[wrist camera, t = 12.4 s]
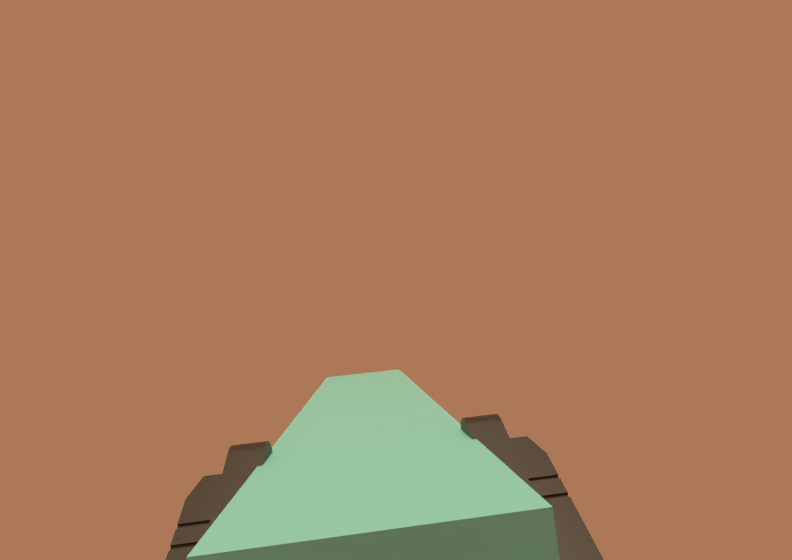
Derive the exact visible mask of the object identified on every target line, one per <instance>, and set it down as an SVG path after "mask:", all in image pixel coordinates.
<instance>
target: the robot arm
mask: <svg viewBox="0 0 792 560" xmlns="http://www.w3.org/2000/svg"><path fill="white" fill-rule="evenodd" d="M461 429H462V430H463V431H464V432H465V433H466V434H467V435H468V436H469V437H470V438H471V439H477V440H478V441H480V442H481V443H482V444H483V445H484V446H485V447H486V448H487V449H488V450H490V451H491V452H492V453H493V454H494V455H495V456H496V457H497V458H499V459H500V460H501V461H502V462H503V463H504V464H505V465H506V466H508V467H509V468H510V469H511V470H512V471H513V472H514V473H515V474H517V475H518V476H519V477H520V478H521V479H522V480H523V481H524V482H525V483H527V484H528V485H529V486H530V487H531V488H532V489H533V490H534V491H536V492H537V493H538V494H539V495H540V496H541V497H542V498H543V499H545V500H546V501H547V502H548V503H549V504H550V505H551V506H552V507H553V512H554V520H555V528H556V535H557V543H558V550H559V558H560V560H603V558H602V556H601V554H600V552H599V550H598V548H597V547H596V545H595V543H594V541H593V539H592V537H591V535H590V533H589V532H588V530H587V528H586V526H585V524H584V522H583V520H582V518H581V517H580V515H579V513H578V511H577V509H576V508H575V505H574V503H573V502H572V500H571V498H570V497H568V493H567V490H566V489H565V487H564V485H563V483H562V481H561V479H559V478H558V474H557V472H556V470H555V468H554V466H553V464H552V462H551V461H550V459H549V457H548V455H547V454H546V452H545V451H543V450H542V449H541V448H540V447H539V446H537V445H536V444H535V443H534V442H533V441H532V440H531V439H529V438H528V437H518V438H509V436H508V434H507V432H506V429H505V427H504V425H503V423H502V421H501V419H500V417H499V416H498V415H497V414H493V415H484V416H475V417H467V418H462V420H461ZM271 453H272V447H271V444H270V442H269V441H265V442H257V443H249V444H241V445H232V446H231V447H230V449H229V451H228V455H227V459H226V463H225V466H224V470H223V474H219V475H212V476H204V477H203V478H202V479H201V481H200V482H199V483H198V484H197V486H196V487H195V488H194V489H193V491H192V492H191V493H190V495H189V496H188V497H187V499H186V500H185V503H184V506H183V509H182V512H181V515H180V519H179V521H178V529H176V530H175V533H174V536H173V540H172V543H171V550H170V551H169V552H168V555H167V558H166V560H186V557H187V556H188V554H189V553H190V552H191V551H192V549H193V548H194V547H195V545H196V544H197V543H198V542H199V540H200V539H201V538H202V536H203V535H204V534H205V533H206V531H207V530H208V529H209V528H210V526H211V525H212V524H213V522H214V521H215V520H216V519H217V517H218V516H219V515H220V513H221V512H222V511H223V510H224V508H225V507H226V506H227V505H228V503H229V502H230V501H231V499H232V498H233V497H234V496H235V494H236V493H237V492H238V490H239V489H240V488H241V487H242V485H243V484H244V483H245V482H246V480H247V479H248V478H249V476H250V475H251V474H252V473H253V471H254V470H255V469H256V467H257V466H262V465H263V464H264V463H265V461H266V460H267V459H268V457H269V456H270V455H271Z"/></svg>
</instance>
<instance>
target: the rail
mask: <svg viewBox="0 0 792 560" xmlns="http://www.w3.org/2000/svg"><path fill="white" fill-rule="evenodd" d="M186 560H560V558H559V550H558V543H557V535H556V528H555V520H554V512H553V507H552V506H551V505H550V504H549V503H548V502H547V501H546V500H545V499H543V498H542V497H541V496H540V495H539V494H538V493H537V492H536V491H534V490H533V489H532V488H531V487H530V486H529V485H528V484H527V483H525V482H524V481H523V480H522V479H521V478H520V477H519V476H518V475H517V474H515V473H514V472H513V471H512V470H511V469H510V468H509V467H508V466H506V465H505V464H504V463H503V462H502V461H501V460H500V459H499V458H497V457H496V456H495V455H494V454H493V453H492V452H491V451H490V450H488V449H487V448H486V447H485V446H484V445H483V444H482V443H481V442H480V441H478V440H477V439H471V438H470V437H469V436H468V435H467V434H466V433H465V432H464V431H463V430H462V429H461V425H460V424H459V423H458V422H457V421H456V420H455V419H454V418H453V417H452V416H450V415H449V414H448V413H447V412H446V411H445V410H444V409H442V408H441V407H440V406H439V405H438V404H437V403H436V402H435V401H434V400H432V399H431V398H430V397H429V396H428V395H427V394H426V393H425V392H423V391H422V390H421V389H420V388H419V387H418V386H417V385H416V384H415V383H413V382H412V381H411V380H410V379H409V378H408V377H407V376H406V375H404V374H403V373H402V372H401V371H400V370H389V371H381V372H371V373H363V374H354V375H346V376H336V377H327V378H326V380H325V381H324V382H323V383H322V384H321V386H320V387H319V388H318V390H317V391H316V392H315V393H314V395H313V396H312V397H311V398H310V400H309V401H308V402H307V404H306V405H305V406H304V407H303V409H302V410H301V411H300V413H299V414H298V415H297V416H296V418H295V419H294V420H293V421H292V423H291V424H290V425H289V427H288V428H287V429H286V430H285V432H284V433H283V434H282V436H281V437H280V438H279V440H278V441H277V442H276V443H275V445H274V446H273V447H272V453H271V455H270V456H269V457H268V459H267V460H266V461H265V463H264V464H263V465H262V466H257V467H256V469H255V470H254V471H253V473H252V474H251V475H250V476H249V478H248V479H247V480H246V482H245V483H244V484H243V485H242V487H241V488H240V489H239V490H238V492H237V493H236V494H235V496H234V497H233V498H232V499H231V501H230V502H229V503H228V505H227V506H226V507H225V508H224V510H223V511H222V512H221V513H220V515H219V516H218V517H217V519H216V520H215V521H214V522H213V524H212V525H211V526H210V528H209V529H208V530H207V531H206V533H205V534H204V535H203V536H202V538H201V539H200V540H199V542H198V543H197V544H196V545H195V547H194V548H193V549H192V551H191V552H190V553H189V554H188V556H187V557H186Z"/></svg>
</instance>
